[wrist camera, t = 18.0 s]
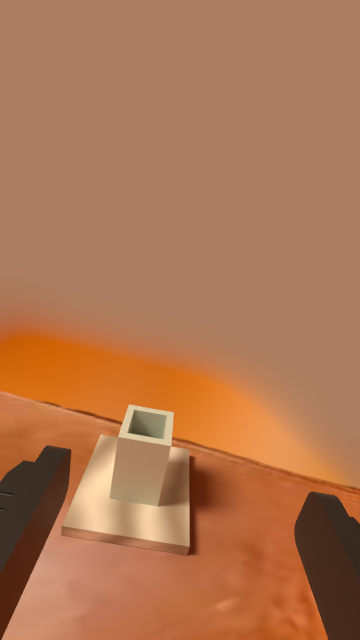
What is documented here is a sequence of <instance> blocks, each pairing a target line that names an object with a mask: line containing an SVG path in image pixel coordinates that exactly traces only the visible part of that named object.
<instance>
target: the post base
mask: <svg viewBox="0 0 360 640" xmlns="http://www.w3.org/2000/svg"><path fill="white" fill-rule="evenodd" d="M142 436H147V437H151V436H149V435H145V434H142ZM117 442H118V437H112V436H106V435H100V438H99V440H98V442H97V445H96V447H95V449H94V452H93V454H92V457H91V459H90V461H89V464H88V466H87V468H86V471H85V473H84V475H83V478H82V480H81V482H80V485H79V487H78V489H77V492H76V494H75V496H74V499H73V501H72V504H71V506H70V508H69V511H68V513H67V515H66V518H65V520H64V522H63V525H62V531H61V535H64V536H70V537H77V538H83V539H89V540H95V541H101V542H108V543H114V544H120V545H126V546H132V547H139V548H145V549H151V550H157V551H163V552H170V553H176V554H182V555H187V554H188V551H189V547H190V511H189V450H187V449H181V448H176V447H171V449H170V453H169V458H168V462H167V467H166V471H165V476H164V480H163V485H162V489H161V494H160V498H159V503H158V507H157V506H151V505H145V504H139V503H133V502H127V501H121V500H115V499H109V497H110V490H111V483H112V476H113V469H114V462H115V455H116V449H117Z"/></svg>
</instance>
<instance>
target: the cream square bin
mask: <svg viewBox="0 0 360 640" xmlns="http://www.w3.org/2000/svg"><path fill="white" fill-rule="evenodd" d="M173 416H174V413H173V412H168V411H162V410H156V409H151V408H145V407H139V406H134V405H129V407H128V409H127V413H126V416H125V418H124V421H123V424H122V427H121V430H120V433H119V436H118V442H117V449H116V455H115V462H114V469H113V476H112V483H111V490H110V497H109V499H115V500H121V501H127V502H133V503H139V504H145V505H151V506H157V507H158V503H159V498H160V494H161V489H162V485H163V480H164V476H165V471H166V467H167V462H168V458H169V453H170V449H171V441H172V428H173ZM142 434H145V435H149V436H151V437H147V436H142Z"/></svg>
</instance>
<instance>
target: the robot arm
mask: <svg viewBox="0 0 360 640" xmlns="http://www.w3.org/2000/svg"><path fill="white" fill-rule="evenodd" d="M70 461H71V450H70V449H66V448H60V447H54V446H46V447H45V448H44V449H43V451H42V452H41V454H40V455H39V457H38V458H37V460H36V461H35V462H30V461H23V462H21V463H20V464H19V465H17V466H16V467H15V468H13V469H12V470H11V471H9V472H8V473H7V474H6V475H5V476H4V478H3V479H2V480H1V482H0V640H1V639H2V637H3V635H4V632H5V630H6V628H7V626H8V624H9V621H10V619H11V617H12V615H13V613H14V610H15V608H16V606H17V604H18V602H19V599H20V597H21V595H22V593H23V591H24V589H25V586H26V584H27V582H28V580H29V578H30V575H31V573H32V571H33V569H34V567H35V564H36V562H37V560H38V558H39V556H40V553H41V551H42V549H43V547H44V545H45V542H46V540H47V538H48V536H49V534H50V531H51V529H52V527H53V525H54V523H55V521H56V518H57V516H58V514H59V512H60V510H61V507H62V505H63V503H64V500H65V497H66V493H67V490H68V485H69V473H70ZM294 532H295V542H296V546H297V549H298V552H299V555H300V557H301V560H302V563H303V566H304V569H305V572H306V575H307V578H308V581H309V584H310V587H311V590H312V592H313V595H314V598H315V601H316V604H317V607H318V610H319V613H320V616H321V619H322V622H323V625H324V627H325V630H326V633H327V636H328V639H329V640H360V524H359V523H358V522H357V520H356V519H355V518H354V517H349V515H348V514H347V512H346V510H345V508H344V506H343V505H342V503H341V501H340V500H339V499H338V497H336V496H335V495H329V494H323V493H317V492H310V493H309V494H308V496H307V498H306V501H305V503H304V505H303V507H302V510H301V512H300V514H299V516H298V519H297V521H296V523H295V531H294Z"/></svg>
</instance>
